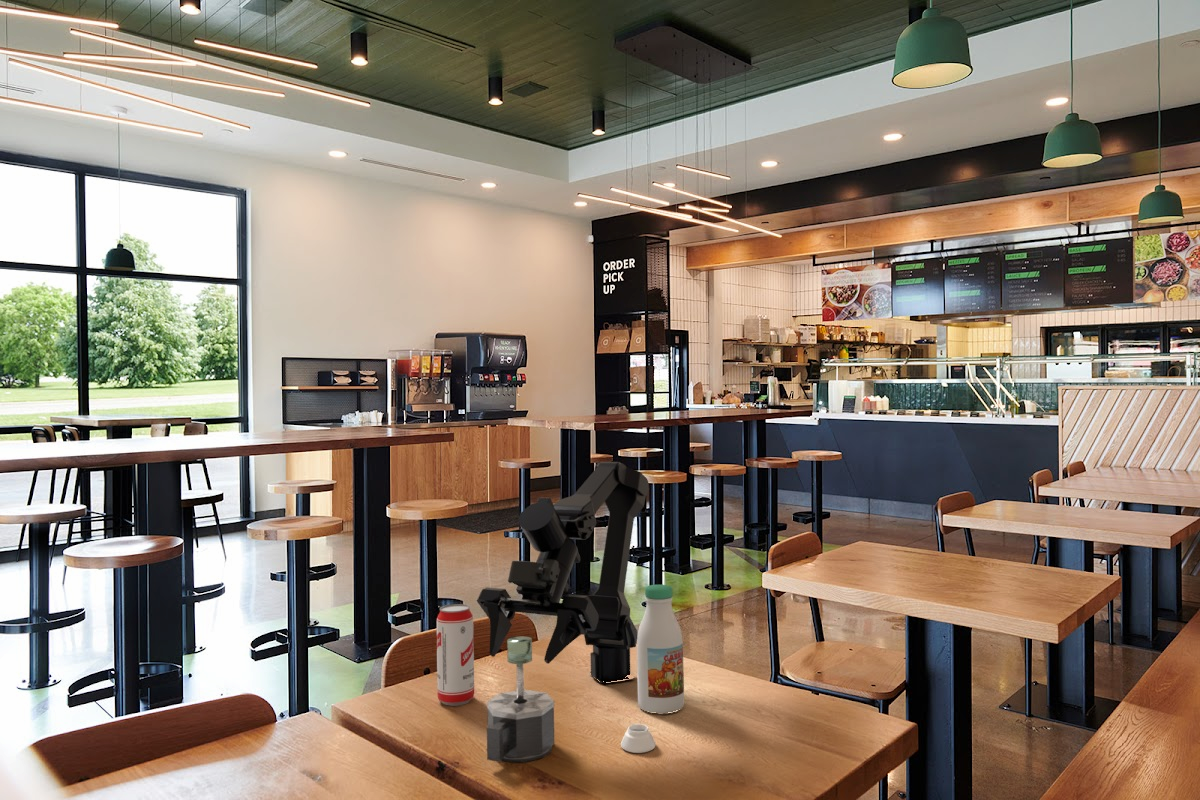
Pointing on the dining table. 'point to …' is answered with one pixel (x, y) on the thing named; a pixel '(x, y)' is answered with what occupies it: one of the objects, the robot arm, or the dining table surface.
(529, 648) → the plunger
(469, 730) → the dining table surface
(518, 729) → the grey octagonal canister
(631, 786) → the dining table surface
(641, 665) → the milk bottle
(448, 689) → the beer can
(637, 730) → the white jar
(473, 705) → the dining table surface
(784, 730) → the dining table surface
